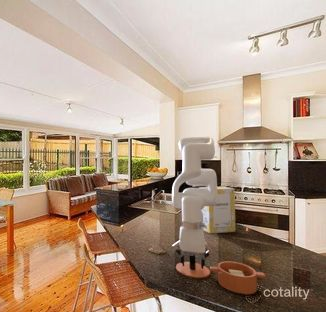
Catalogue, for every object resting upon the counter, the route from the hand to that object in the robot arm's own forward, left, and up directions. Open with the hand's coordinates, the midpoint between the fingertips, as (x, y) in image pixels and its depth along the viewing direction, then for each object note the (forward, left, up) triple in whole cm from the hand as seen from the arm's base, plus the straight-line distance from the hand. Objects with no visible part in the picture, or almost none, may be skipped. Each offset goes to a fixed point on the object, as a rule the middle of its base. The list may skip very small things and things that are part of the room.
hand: (192, 265), depth 100 cm
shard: (-18, -17, -3) cm, 25 cm away
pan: (+7, +15, -2) cm, 17 cm away
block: (+7, +15, -2) cm, 17 cm away
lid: (0, 0, -2) cm, 2 cm away
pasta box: (-65, +19, -3) cm, 68 cm away
